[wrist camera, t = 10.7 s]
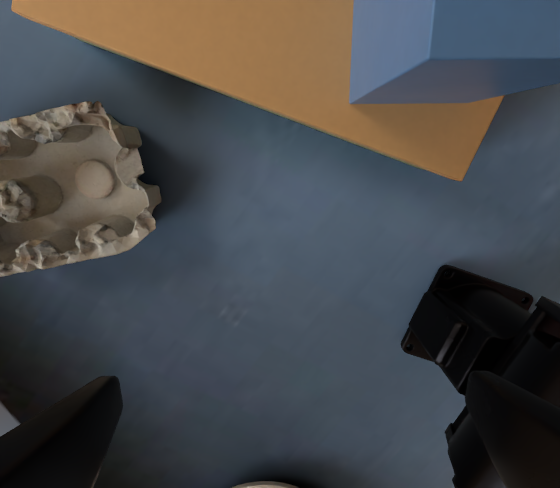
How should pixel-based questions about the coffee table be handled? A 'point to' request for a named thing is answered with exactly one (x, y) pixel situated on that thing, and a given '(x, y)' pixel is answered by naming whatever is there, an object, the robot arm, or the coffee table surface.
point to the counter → (275, 68)
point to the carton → (452, 49)
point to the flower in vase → (265, 485)
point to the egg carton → (70, 188)
